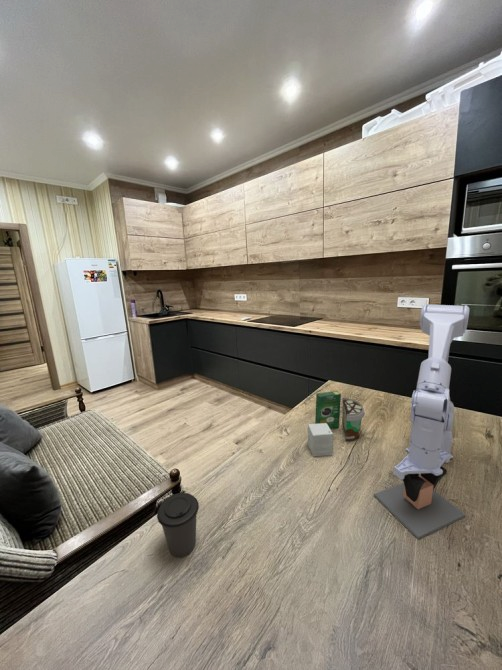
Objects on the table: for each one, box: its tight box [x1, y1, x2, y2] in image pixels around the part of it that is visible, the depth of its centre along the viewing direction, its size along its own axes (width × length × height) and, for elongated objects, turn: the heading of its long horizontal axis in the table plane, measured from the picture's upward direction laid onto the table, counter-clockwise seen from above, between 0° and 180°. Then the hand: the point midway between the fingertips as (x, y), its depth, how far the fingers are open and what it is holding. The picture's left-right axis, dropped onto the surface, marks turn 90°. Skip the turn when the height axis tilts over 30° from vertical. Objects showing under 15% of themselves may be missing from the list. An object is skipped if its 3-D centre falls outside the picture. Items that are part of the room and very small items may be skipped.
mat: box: [373, 482, 466, 540], centre depth 64 cm, size 14×12×1 cm
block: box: [403, 474, 434, 509], centre depth 64 cm, size 4×4×5 cm
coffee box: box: [314, 390, 342, 430], centre depth 95 cm, size 8×3×13 cm, turn 103°
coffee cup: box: [156, 492, 200, 559], centre depth 56 cm, size 8×8×10 cm
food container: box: [341, 397, 366, 442], centre depth 92 cm, size 12×6×10 cm, turn 168°
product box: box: [307, 423, 334, 457], centre depth 84 cm, size 6×6×7 cm
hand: (418, 495), depth 64 cm, fingers closed on block, 4 cm apart
